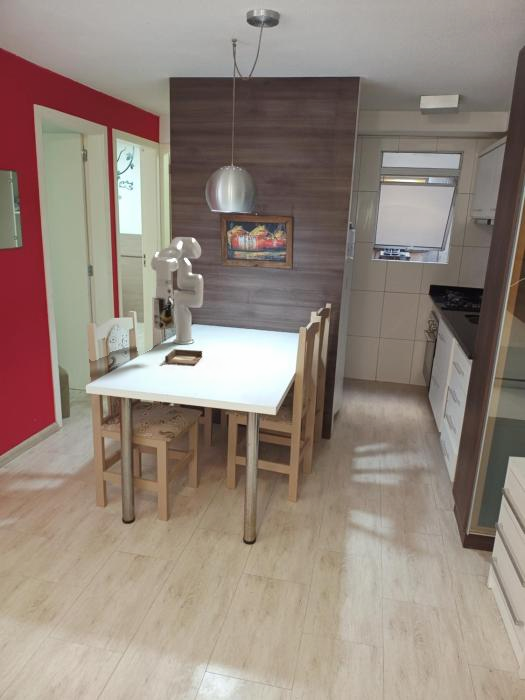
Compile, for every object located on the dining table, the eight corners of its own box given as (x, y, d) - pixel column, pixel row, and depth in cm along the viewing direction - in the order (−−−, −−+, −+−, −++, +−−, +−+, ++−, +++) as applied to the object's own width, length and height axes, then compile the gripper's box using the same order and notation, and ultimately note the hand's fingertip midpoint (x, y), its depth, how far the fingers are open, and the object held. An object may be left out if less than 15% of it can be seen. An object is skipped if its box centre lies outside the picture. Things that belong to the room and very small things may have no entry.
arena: (174, 356, 294) (174, 349, 293) (202, 357, 292) (202, 350, 291) (165, 363, 279) (165, 356, 278) (194, 365, 277) (194, 358, 276)
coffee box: (160, 330, 277) (159, 299, 273) (154, 328, 282) (153, 298, 278) (175, 328, 283) (174, 298, 279) (168, 325, 288) (168, 296, 284)
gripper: (179, 284, 273) (179, 317, 278) (160, 280, 285) (161, 312, 290) (167, 285, 268) (167, 319, 273) (148, 281, 280) (149, 314, 284)
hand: (164, 315), depth 281 cm, fingers closed on coffee box, 6 cm apart
